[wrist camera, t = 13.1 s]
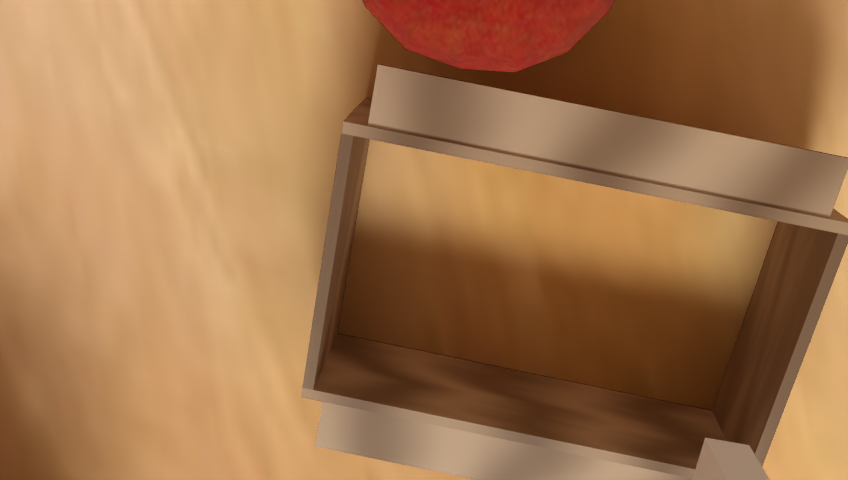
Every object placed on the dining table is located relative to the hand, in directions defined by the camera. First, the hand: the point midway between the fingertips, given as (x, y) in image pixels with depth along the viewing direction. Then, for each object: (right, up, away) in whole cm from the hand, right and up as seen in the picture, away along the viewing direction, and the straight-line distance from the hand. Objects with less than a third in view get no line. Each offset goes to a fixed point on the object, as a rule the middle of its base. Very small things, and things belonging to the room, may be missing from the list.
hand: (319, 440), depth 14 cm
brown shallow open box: (+8, +2, +27) cm, 28 cm away
